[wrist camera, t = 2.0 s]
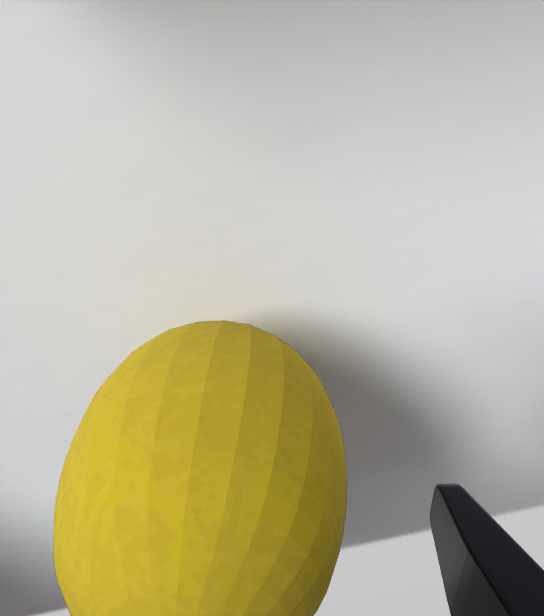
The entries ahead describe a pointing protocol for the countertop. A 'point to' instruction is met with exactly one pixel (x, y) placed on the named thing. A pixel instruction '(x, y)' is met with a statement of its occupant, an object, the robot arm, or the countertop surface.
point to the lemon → (203, 482)
